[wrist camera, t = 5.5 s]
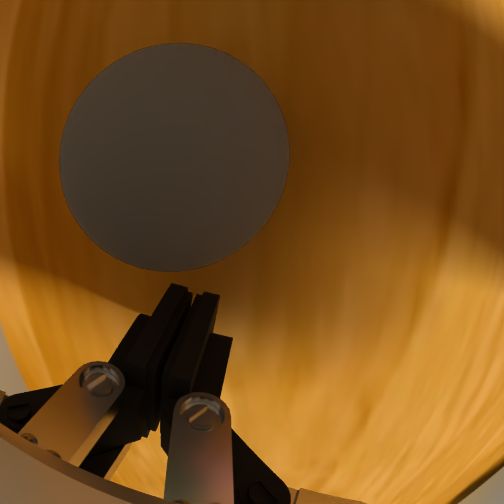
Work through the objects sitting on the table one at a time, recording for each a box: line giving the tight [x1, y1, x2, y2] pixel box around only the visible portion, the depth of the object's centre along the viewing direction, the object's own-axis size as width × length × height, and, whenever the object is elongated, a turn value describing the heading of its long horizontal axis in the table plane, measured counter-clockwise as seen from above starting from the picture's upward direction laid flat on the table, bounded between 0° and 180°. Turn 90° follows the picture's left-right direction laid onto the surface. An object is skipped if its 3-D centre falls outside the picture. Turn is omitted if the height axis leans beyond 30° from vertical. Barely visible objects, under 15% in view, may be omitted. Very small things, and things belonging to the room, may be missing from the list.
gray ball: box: [59, 43, 290, 272], centre depth 7 cm, size 6×6×6 cm
